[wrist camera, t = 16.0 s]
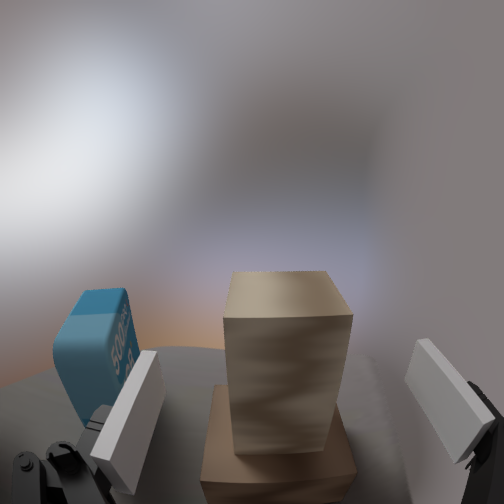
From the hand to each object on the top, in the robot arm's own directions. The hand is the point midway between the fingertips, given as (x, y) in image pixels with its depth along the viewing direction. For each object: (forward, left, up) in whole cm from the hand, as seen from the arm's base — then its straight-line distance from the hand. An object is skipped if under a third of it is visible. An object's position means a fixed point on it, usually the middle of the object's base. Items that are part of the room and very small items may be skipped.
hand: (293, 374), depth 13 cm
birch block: (0, +4, -8) cm, 9 cm away
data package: (-15, +8, -13) cm, 22 cm away
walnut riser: (0, +3, -13) cm, 13 cm away
